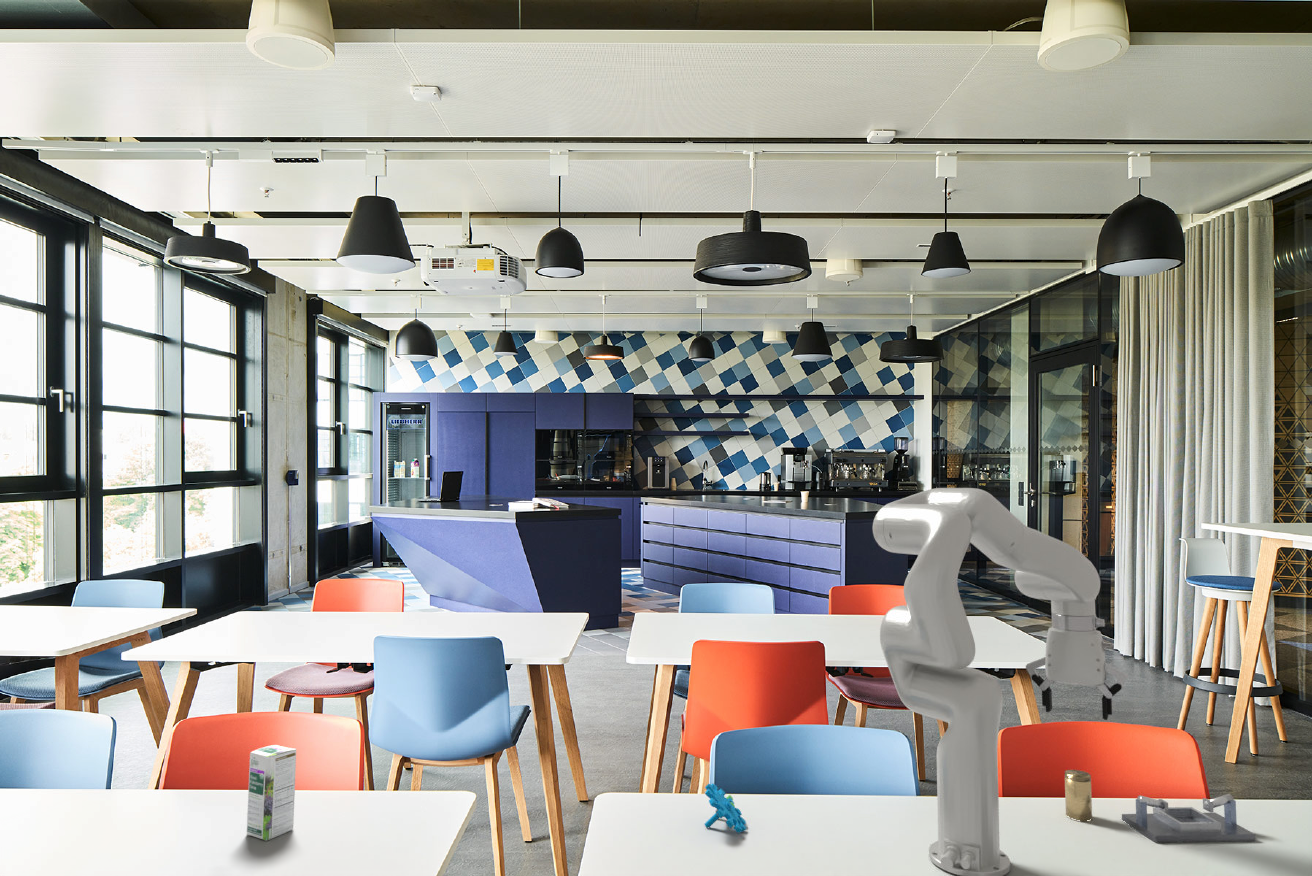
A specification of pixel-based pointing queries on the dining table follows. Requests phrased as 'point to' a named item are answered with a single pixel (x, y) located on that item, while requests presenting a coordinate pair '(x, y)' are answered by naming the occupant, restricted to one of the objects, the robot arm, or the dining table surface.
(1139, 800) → the coupling stand
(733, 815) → the gear
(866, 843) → the dining table surface
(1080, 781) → the cylinder
